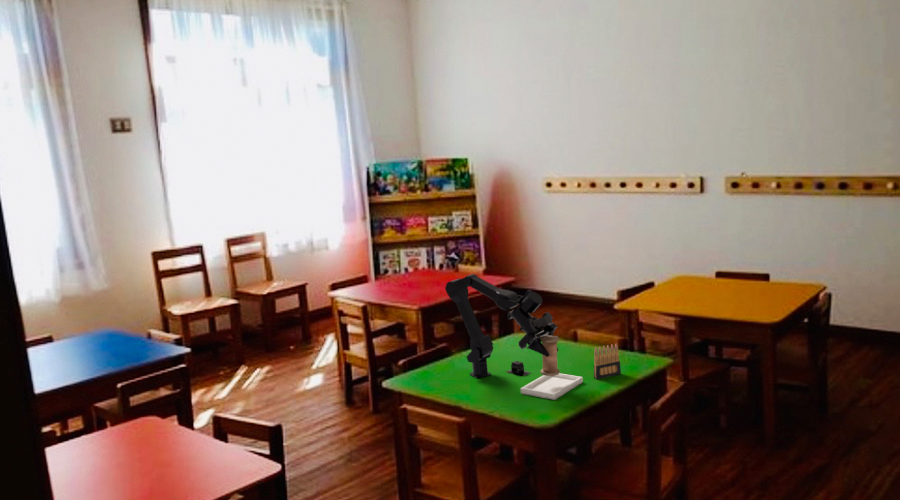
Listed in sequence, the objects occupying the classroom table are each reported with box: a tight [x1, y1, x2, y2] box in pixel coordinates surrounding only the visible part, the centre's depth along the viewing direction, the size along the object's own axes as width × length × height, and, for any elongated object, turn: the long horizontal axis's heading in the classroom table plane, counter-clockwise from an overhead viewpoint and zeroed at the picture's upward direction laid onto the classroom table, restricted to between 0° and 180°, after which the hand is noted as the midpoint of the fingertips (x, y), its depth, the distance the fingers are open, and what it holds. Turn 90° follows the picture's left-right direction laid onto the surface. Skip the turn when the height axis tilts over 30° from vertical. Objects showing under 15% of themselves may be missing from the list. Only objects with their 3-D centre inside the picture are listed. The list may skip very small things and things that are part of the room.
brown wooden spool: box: [540, 335, 560, 376], centre depth 259 cm, size 7×7×13 cm
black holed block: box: [505, 360, 532, 378], centre depth 281 cm, size 12×7×5 cm, turn 38°
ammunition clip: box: [593, 342, 622, 380], centre depth 267 cm, size 11×2×12 cm, turn 111°
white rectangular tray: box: [520, 373, 584, 401], centre depth 261 cm, size 20×14×2 cm
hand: (553, 353), depth 258 cm, fingers closed on brown wooden spool, 6 cm apart
